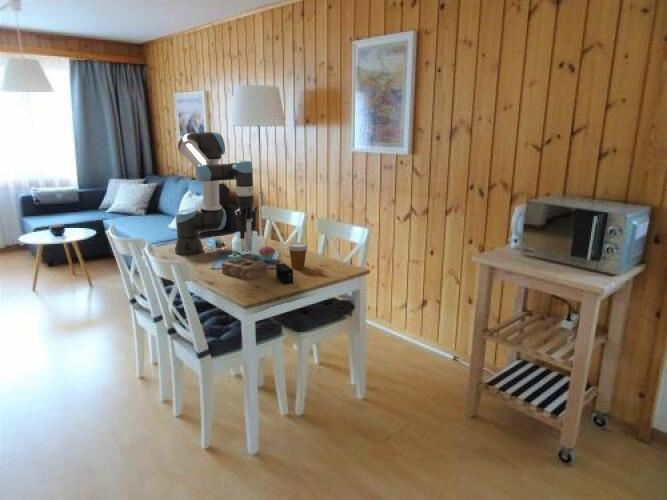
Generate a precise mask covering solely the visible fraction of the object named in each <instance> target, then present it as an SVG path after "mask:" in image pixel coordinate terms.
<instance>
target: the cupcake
mask: <svg viewBox="0 0 667 500" xmlns="http://www.w3.org/2000/svg"><path fill="white" fill-rule="evenodd" d="M258 253H259V254H260V256H261V259H262V261H264V260H266V261H265V262H268V261H267V260H271V259H272V260H273V257H274V255H275V253H276V250H275V248H273V247H271V246H268V240H267V239H265V246H263V247H261V248H260V249H259V250H258ZM272 260H271V261H272Z"/></svg>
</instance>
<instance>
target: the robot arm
mask: <svg viewBox="0 0 667 500" xmlns="http://www.w3.org/2000/svg"><path fill="white" fill-rule="evenodd" d="M177 148H178V151H179V153H180V154H181V156H182V157H183V158H185V159H187V160H188V161H189V162H190V164H191V165H192V166H193V167H194V169H195V177H196V180H197V181H198V182H202V197H203V198H202V199H203V200H202V201H203V204H202V205H201V206H200V210H198V209H197V208H186V209H182V210H179V211H177V212H176V213H175V224H176V225H175V226H176V227H175V228H176V242H175V243H176V244H175V247H174V253H175V254H177V255H180V256H181V255H182V256H189V255H190V256H191V255H192V256H193V255H198V254H201V253H203V252H204V246H203V242H202V240H201V238H200V233H203V232H210V231H218V230H219V231H220V230H222V229H224V228H225V226H226V224H227V223H226V222H227V213H226V211H225V209H224V208H223V206H222V205H221V204H220V182H221V181H235V185H236V186H235V187H236V203H237V204H238V206H237V210H234V211H233V214H234V215H235V216H234V218H235V226H236V227H235V228H236V232H239V235H240V236H239V237H240V238H241V245H245V246H246V245H247V238H246V232H245V224H246V223H245V219H246V218H253V221H252V222H251V236H252V237H253V232H254V230H255V228H256V227H257V222H256V221H257V210H258V208H257V206H254V202H255V201H254V174H253V173H254V172H253V171H254V168H253V162H252V161H250V160H237V161H235V162H229V163H219V162H220V160H222V156H223V155H224V154H225V153H226V145H225V141H224V138H223V136H222V135H221V134H220V133H219V132H214V131H207V132H206V131H205V132H199V131H198V132H195V131H193V132H191V131H190V132H187V133H185V134H184V135H182V136H181V137H180V139H179V140H178V144H177Z"/></svg>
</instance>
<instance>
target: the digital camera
mask: <svg viewBox="0 0 667 500" xmlns="http://www.w3.org/2000/svg"><path fill="white" fill-rule="evenodd" d="M275 270H276V271H275V279H277V280H278V281H279V282H280V283H281V284H283V285H284V286H286V285H293V284H294V269H293V268H292V267H290V266H288V264H287V263H284V262H283V263H276V264H275Z"/></svg>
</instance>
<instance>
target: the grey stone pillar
mask: <svg viewBox="0 0 667 500" xmlns="http://www.w3.org/2000/svg"><path fill="white" fill-rule="evenodd" d="M252 221H253V218H246V219H245V223H246V224H245V232H246V238H247V245H246V246H245V245H242V251H247V252H248V251H250V252H251V251H252V250H253V236H251V222H252Z"/></svg>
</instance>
